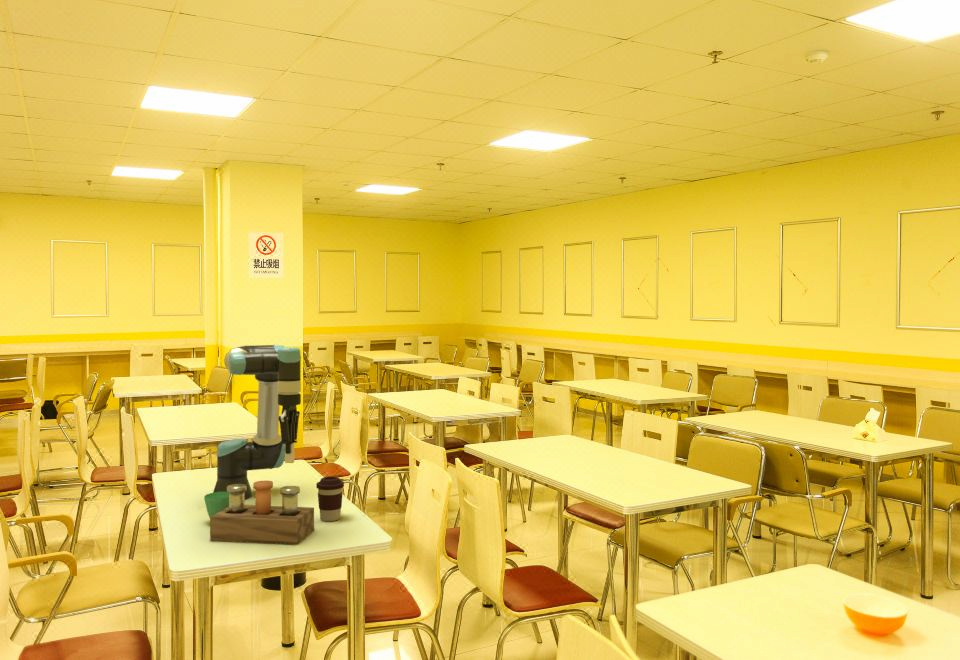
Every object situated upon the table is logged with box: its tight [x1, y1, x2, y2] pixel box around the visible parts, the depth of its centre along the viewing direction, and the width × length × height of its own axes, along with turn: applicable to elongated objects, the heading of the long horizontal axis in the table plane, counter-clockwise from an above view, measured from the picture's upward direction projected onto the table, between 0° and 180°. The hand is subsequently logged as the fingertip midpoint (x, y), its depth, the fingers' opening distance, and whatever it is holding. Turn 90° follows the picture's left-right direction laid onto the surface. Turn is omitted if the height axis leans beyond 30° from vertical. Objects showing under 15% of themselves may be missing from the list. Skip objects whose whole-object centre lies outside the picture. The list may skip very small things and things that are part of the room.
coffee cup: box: [315, 476, 345, 522], centre depth 265 cm, size 10×10×15 cm
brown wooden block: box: [209, 504, 315, 546], centre depth 246 cm, size 16×30×8 cm, turn 83°
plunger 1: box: [227, 484, 247, 514], centre depth 247 cm, size 6×6×11 cm
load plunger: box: [252, 480, 274, 515], centre depth 245 cm, size 6×6×11 cm
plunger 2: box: [279, 485, 301, 516], centre depth 244 cm, size 6×6×11 cm
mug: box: [203, 492, 229, 519], centre depth 262 cm, size 15×10×10 cm
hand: (289, 462), depth 244 cm, fingers closed
